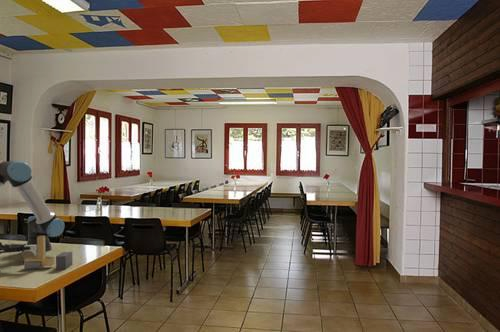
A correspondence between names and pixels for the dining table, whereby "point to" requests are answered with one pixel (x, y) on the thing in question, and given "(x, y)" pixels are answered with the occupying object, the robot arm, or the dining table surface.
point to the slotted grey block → (63, 260)
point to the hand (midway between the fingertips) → (37, 247)
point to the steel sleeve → (32, 266)
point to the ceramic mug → (29, 254)
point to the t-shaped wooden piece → (41, 254)
